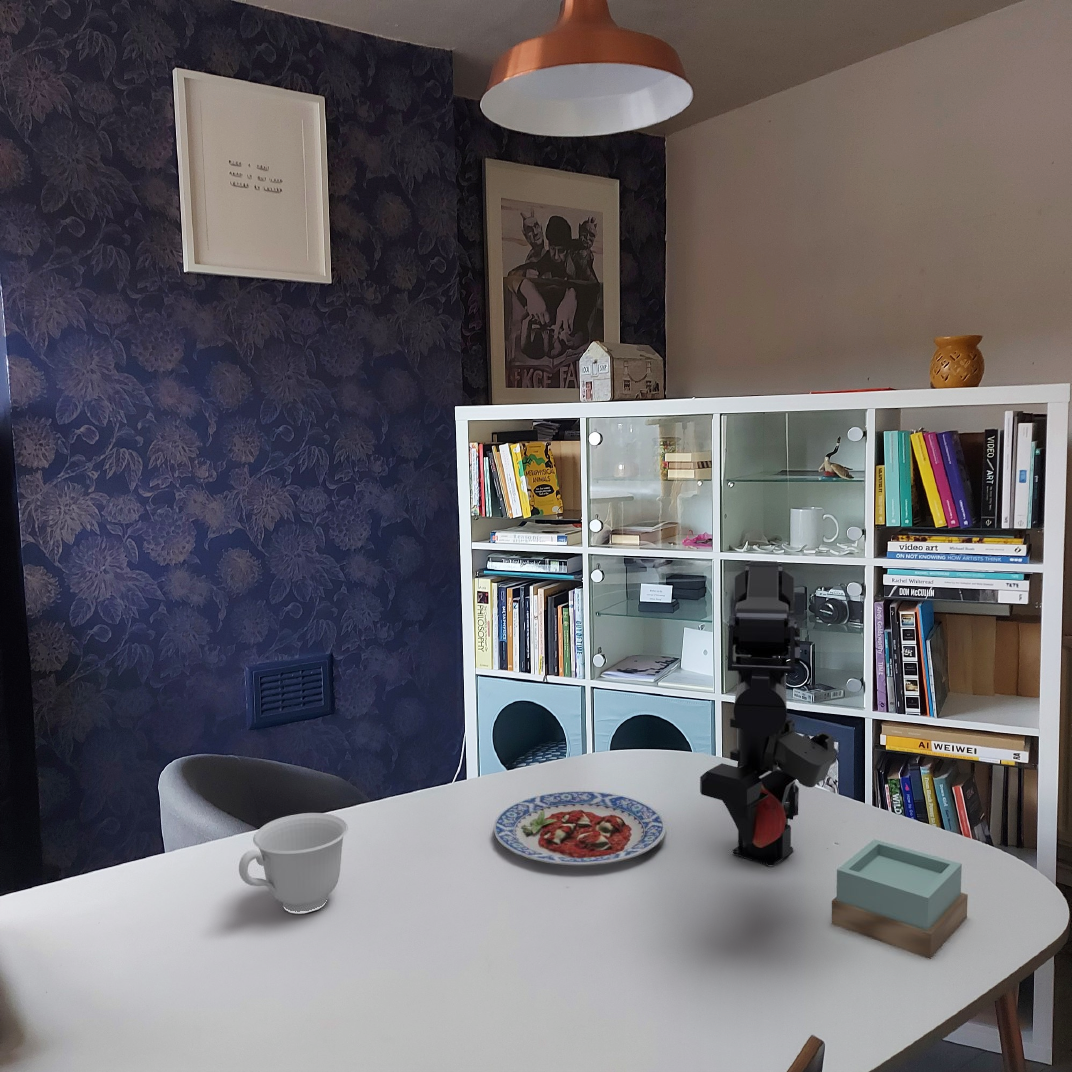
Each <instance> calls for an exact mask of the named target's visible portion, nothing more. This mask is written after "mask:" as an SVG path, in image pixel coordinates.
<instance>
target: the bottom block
mask: <svg viewBox="0 0 1072 1072" xmlns="http://www.w3.org/2000/svg"><path fill="white" fill-rule="evenodd" d="M968 899H969V898H968V893H967V894H966V893H964V892H961V895H960V896H959V897H958V898H957V899H956V900H955V902H954V903H953V904H952V905H951V906H950V907H949V908H948V909H947V910H946V911H945V912H944V914H943V915H942V916H941V917H940V918H939V919H938V920H937V921H936V922H935V923H934V925H933V926H932V927H931V928H930V929H929V930H928V931H926V930H923V929H920V928H917V927H914V926H911V925H908V924H905V923H902V922H899V921H896V920H893V919H890V918H887V917H884V916H881V915H878V914H875V913H872V912H869V911H866V910H863V909H860V908H857V907H854V906H851V905H848V904H845V903H842V902H839V901H837V896H836V897H834V898H833V899H832V900H831V925H834V926H837V927H840V928H842V929H844V930H848V931H851V932H854V933H856V934H860V935H861V936H864V937H867V938H870V939H873V940H877V941H879V942H882V943H884V944H887V945H890V946H893V947H896V948H898V949H901V950H904V951H907V952H910V953H912V954H915V955H918V956H921V957H924V958H925V959H926V958H927V959H930V960H931V959H932V958H933V957H934V956H935V954H937V953H938V951H939V950H940V949H941V948H942V946H943V945H944V944H945V943H946V942H947V941H948V940H949V938H951V936H952V935H953V934H954V933H955V931H957V929H959V927H960V926H961V925H962V924H963V923H964V921H965V920H966V919H968Z"/></svg>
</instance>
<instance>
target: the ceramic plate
mask: <svg viewBox="0 0 1072 1072" xmlns="http://www.w3.org/2000/svg"><path fill="white" fill-rule="evenodd" d="M493 832H494V836H495V838H496V839H497V841H498V842H499V843H500V844H501V845H502V846H503V847H505V848H506V849H508V850H509V851H511V852H512V853H514V854H516V855H519V856H521V857H525V858H527V859H529V860H533V861H538V862H542V863H547V864H555V865H563V866H564V865H565V866H594V865H604V864H611V863H617V862H622V861H625V860H628V859H632V858H634V857H635V858H636V857H638V856H640V855H642V854H644V853H647V852H648V851H650V850H652V849H653V848H654V847H656V846H657V845H658V844H660V842H661V841H662V839H663V838H664V836H665V834H666V832H667V824H666V820H665V818H664V817H663V815H661V813H659V812H658V811H657V810H656V809H655V808H654V807H652V806H651V805H648V803H647V804H646V803H645V802H643V801H640V800H639V799H638V800H637V799H635V798H632V797H629V796H624V795H620V794H616V793H610V792H603V791H589V790H573V791H572V790H571V791H559V792H551V793H545V794H540V795H535V796H532V797H528V798H526V799H523V800H521V801H519V802H516V803H514V804H512V805H510V806H509V807H507V808H506V809H504V810H503V811H501V813H499V815H498V816H497V818H496V819H495V821H494V824H493Z"/></svg>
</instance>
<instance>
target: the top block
mask: <svg viewBox="0 0 1072 1072" xmlns="http://www.w3.org/2000/svg"><path fill="white" fill-rule="evenodd" d="M962 865H963V864H962V863H960V862H958V861H957V862H956V861H953V860H949V859H946V858H941V857H939V856H935V855H931V854H928V853H924V852H921V851H917V850H915V849H914V850H913V849H911V848H907V847H903V846H899V845H897V844H893V843H888V842H885V841H881V840H878V839H873V840H871V841H870V842H869V843H867V845H865V846H864V847H863V848H861V849H860V850H859V851H858V852H857V853H855V854H854V855H853V856H852V857H850V858H849V859H848V860H847V861H845V863H843V864H841V866H839V867H838V868H837V869H836V897H837V901H839V902H842V903H845V904H848V905H851V906H854V907H857V908H860V909H863V910H866V911H869V912H872V913H875V914H878V915H881V916H884V917H887V918H890V919H893V920H896V921H899V922H902V923H905V924H908V925H911V926H914V927H917V928H920V929H923V930H926V931H928V930H929V929H930V928H931V927H932V926H933V925H934V923H935V922H936V921H937V920H938V919H939V918H940V917H941V916H942V915H943V914H944V912H945V911H946V910H947V909H948V908H949V907H950V906H951V905H952V904H953V903H954V902H955V900H956V899H957V898H958V897H959V896H960V895H961V893H962V872H963V871H962V868H963V867H962Z"/></svg>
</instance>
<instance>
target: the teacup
mask: <svg viewBox="0 0 1072 1072" xmlns="http://www.w3.org/2000/svg"><path fill="white" fill-rule="evenodd" d="M348 831H349V825H348V823H347V822H346V821H345V820H343V819H342V818H341V817H339V816H337V815H334V814H329V813H325V812H324V813H323V812H306V813H305V812H304V813H298V814H292V815H286V816H283V817H279V818H276V819H274V820H271V821H269V822H267V823H265V824H264V825H263V826H261V827H260V828H259V829H258V830H257V831H256V832H255V834H254V835H253V837H252V838H253V839H252V841H253V844H254V845H255V846H256V848H258V850H259V851H258V850H256V849H251V850H248V851H246V852H245V853H243V855H242V856H241V857H240V861H239V864H238V873H239V876H240V878H241V880H242V882H244V883H245V884H247V885H249V886H254V887H261V886H262V887H266V888H268V891H269V892H270V894H271V895H272V897H274V899H276V900H277V901H279V902H281V903H282V907H283V906H284V907H285V908H286V909H288V910H290V911H295V912H296V911H297V912H300V911H309V910H312V909H315V908H317V907H320V906H322V905H323V904H324V903H325V902H326V900H327V901H328V896H329V895H330V894H331V893H332V892H333V891H334V890H335V888H336V887H337V885H338V882H339V878H340V875H341V864H342V854H343V853H342V850H343V841H344V837H345V836H346V835H347V833H348ZM253 860H255V861H256V863H257V864H258V865H259V866H261V867H263V872H264V876H265V879H264V878H259V877H258V878H257V877H253V876H251V875H250V874H249V872H248V871H249V869H248V868H249V865H250V863H251V862H252V861H253Z"/></svg>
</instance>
